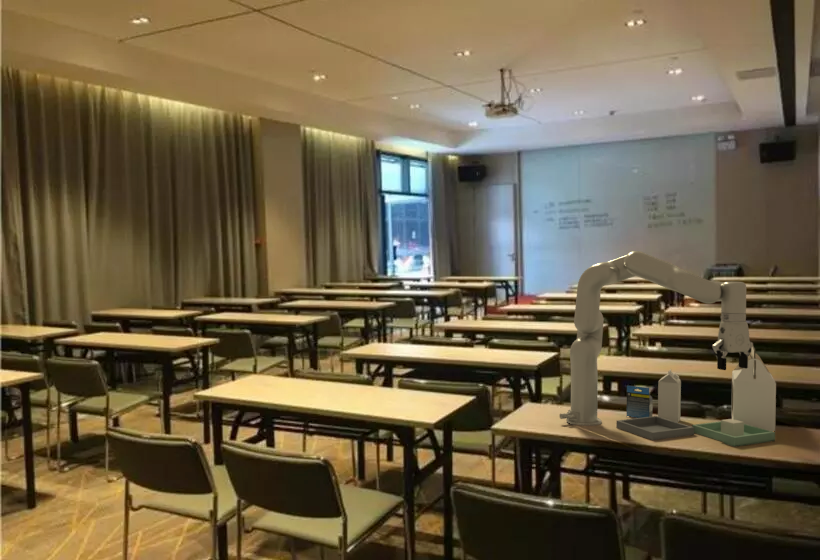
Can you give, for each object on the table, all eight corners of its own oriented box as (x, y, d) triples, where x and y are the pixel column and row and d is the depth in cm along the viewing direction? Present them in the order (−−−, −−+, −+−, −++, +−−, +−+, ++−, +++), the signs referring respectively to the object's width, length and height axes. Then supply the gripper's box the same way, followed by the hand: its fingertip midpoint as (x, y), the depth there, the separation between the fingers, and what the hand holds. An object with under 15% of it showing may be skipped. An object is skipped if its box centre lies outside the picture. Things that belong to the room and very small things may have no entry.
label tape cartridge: (652, 418, 255) (653, 386, 255) (649, 420, 252) (649, 387, 252) (629, 415, 261) (630, 383, 260) (626, 417, 258) (626, 385, 257)
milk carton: (657, 421, 250) (658, 370, 250) (660, 417, 257) (661, 368, 256) (678, 424, 247) (678, 372, 246) (680, 419, 253) (681, 369, 253)
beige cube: (732, 438, 226) (733, 423, 225) (720, 434, 230) (720, 420, 230) (743, 436, 227) (744, 422, 227) (731, 433, 232) (731, 418, 232)
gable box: (731, 415, 261) (732, 343, 260) (770, 418, 255) (771, 345, 254) (733, 428, 240) (734, 350, 239) (775, 432, 235) (776, 352, 234)
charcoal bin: (652, 441, 223) (652, 432, 223) (616, 428, 240) (616, 420, 240) (694, 436, 230) (694, 427, 230) (656, 424, 247) (656, 415, 247)
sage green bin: (734, 446, 217) (734, 437, 217) (691, 433, 234) (691, 424, 234) (774, 441, 224) (775, 432, 224) (730, 428, 241) (730, 420, 240)
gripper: (723, 320, 221) (722, 372, 221) (761, 318, 227) (760, 368, 228) (705, 318, 228) (704, 368, 228) (743, 316, 234) (742, 365, 235)
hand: (732, 368), depth 228 cm, fingers open, 9 cm apart
